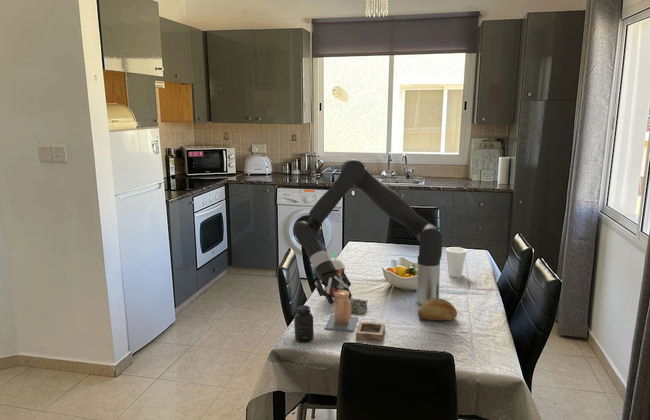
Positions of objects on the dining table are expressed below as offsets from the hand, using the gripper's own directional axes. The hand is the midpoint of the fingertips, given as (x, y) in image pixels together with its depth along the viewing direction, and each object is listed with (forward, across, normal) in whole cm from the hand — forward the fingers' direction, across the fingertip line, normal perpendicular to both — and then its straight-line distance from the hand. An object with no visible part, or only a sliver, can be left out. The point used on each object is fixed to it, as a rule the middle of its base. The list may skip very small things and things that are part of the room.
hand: (341, 300), depth 182 cm
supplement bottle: (+8, -18, +6) cm, 21 cm away
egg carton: (+1, +13, +12) cm, 18 cm away
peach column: (+6, 0, +6) cm, 9 cm away
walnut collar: (+16, +2, -3) cm, 17 cm away
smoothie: (-10, +16, +24) cm, 31 cm away
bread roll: (+21, +32, -8) cm, 39 cm away
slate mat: (+7, 0, +6) cm, 9 cm away
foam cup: (+2, +79, +12) cm, 80 cm away
